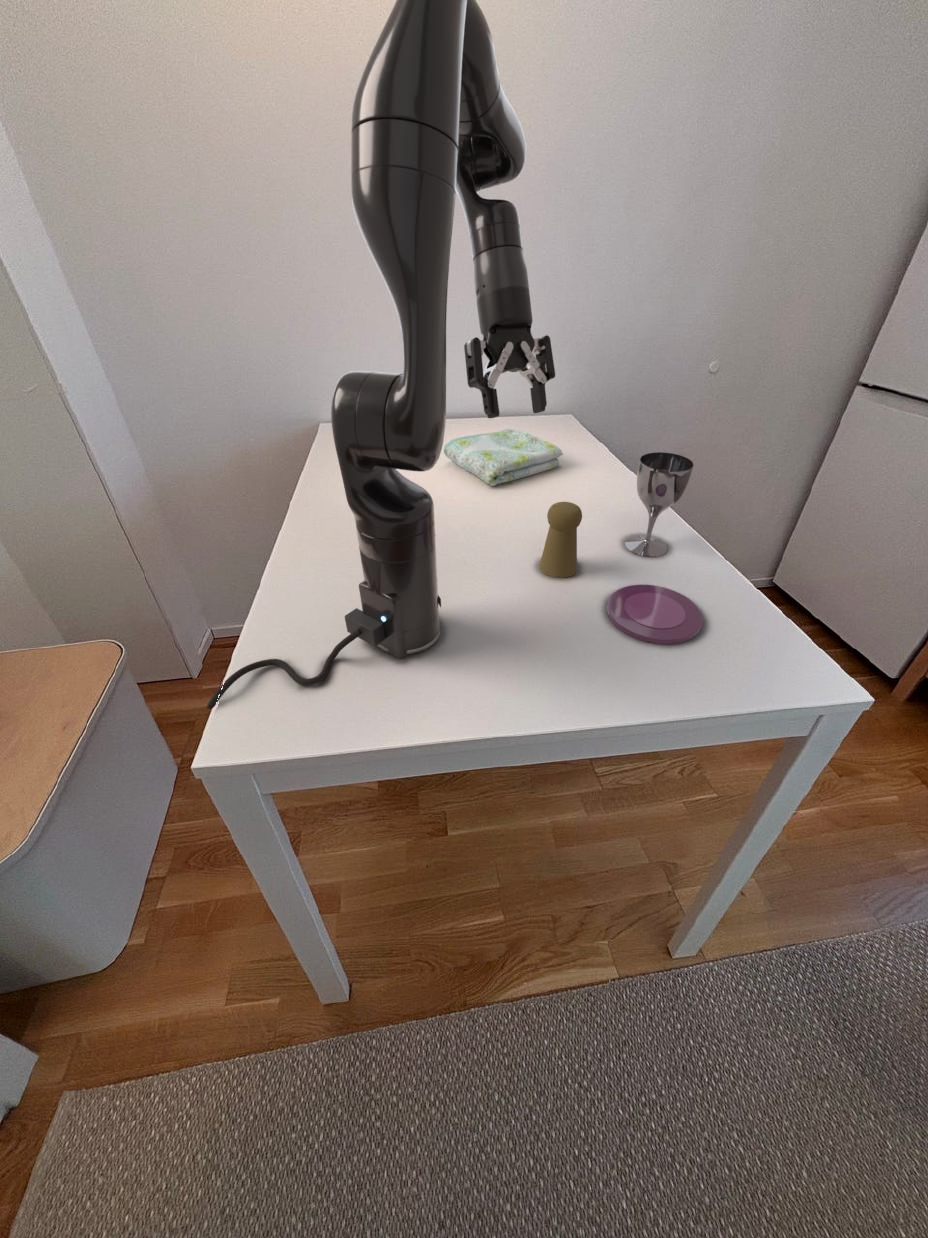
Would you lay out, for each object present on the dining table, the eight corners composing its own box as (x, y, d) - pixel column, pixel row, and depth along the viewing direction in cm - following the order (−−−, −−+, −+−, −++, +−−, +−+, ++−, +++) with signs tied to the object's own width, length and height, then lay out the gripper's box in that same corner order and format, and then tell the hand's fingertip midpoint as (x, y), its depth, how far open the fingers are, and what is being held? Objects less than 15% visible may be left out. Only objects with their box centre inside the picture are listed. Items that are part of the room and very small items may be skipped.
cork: (576, 579, 81) (586, 516, 74) (537, 575, 82) (544, 512, 75) (577, 559, 86) (586, 498, 79) (541, 556, 87) (547, 495, 80)
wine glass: (662, 563, 85) (686, 475, 76) (615, 549, 88) (633, 465, 79) (675, 542, 90) (699, 458, 81) (630, 530, 93) (648, 448, 84)
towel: (564, 466, 117) (567, 444, 114) (488, 489, 107) (489, 466, 104) (514, 443, 129) (515, 422, 125) (442, 462, 119) (441, 440, 116)
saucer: (683, 657, 67) (685, 652, 66) (591, 620, 73) (592, 615, 73) (712, 608, 75) (714, 603, 75) (627, 579, 81) (629, 574, 81)
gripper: (473, 282, 66) (491, 415, 71) (558, 284, 73) (570, 406, 77) (446, 302, 73) (464, 423, 77) (526, 303, 79) (538, 414, 84)
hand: (517, 414), depth 77 cm, fingers open, 8 cm apart
